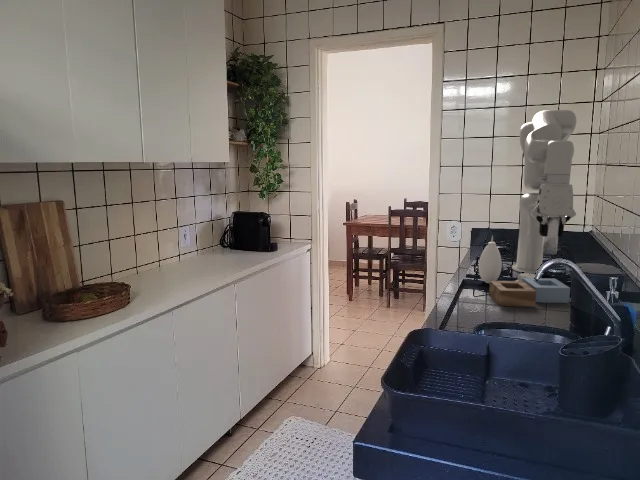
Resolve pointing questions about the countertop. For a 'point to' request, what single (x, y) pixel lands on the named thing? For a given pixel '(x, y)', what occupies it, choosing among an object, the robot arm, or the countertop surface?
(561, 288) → the socket block
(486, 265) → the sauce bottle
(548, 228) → the steel pin
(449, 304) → the countertop surface
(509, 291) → the walnut mount
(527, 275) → the mechanical component
